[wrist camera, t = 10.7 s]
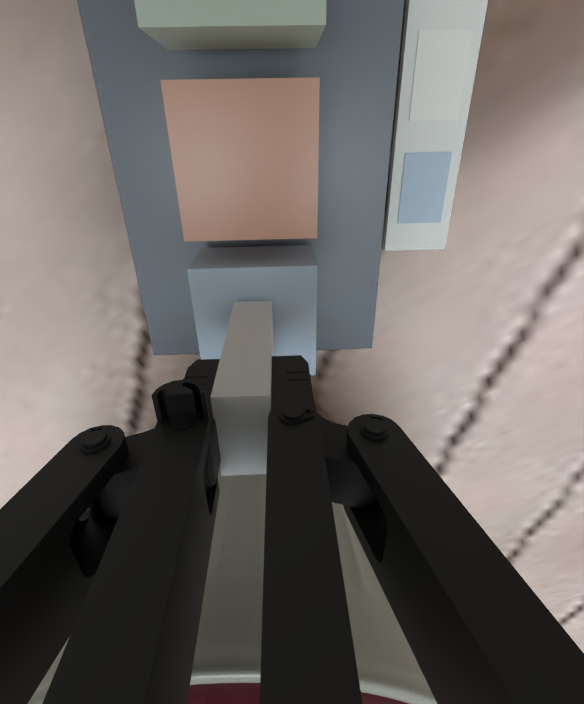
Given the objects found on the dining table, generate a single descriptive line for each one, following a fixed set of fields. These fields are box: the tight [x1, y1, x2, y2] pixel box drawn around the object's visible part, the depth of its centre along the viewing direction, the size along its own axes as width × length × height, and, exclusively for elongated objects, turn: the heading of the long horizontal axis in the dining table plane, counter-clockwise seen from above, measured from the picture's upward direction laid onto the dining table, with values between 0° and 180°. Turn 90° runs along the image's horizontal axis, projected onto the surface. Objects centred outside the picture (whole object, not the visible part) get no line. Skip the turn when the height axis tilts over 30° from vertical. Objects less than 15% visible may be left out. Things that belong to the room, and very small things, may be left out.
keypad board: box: [77, 0, 404, 355], centre depth 15 cm, size 25×12×4 cm, turn 1°
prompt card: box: [383, 0, 488, 251], centre depth 17 cm, size 15×3×1 cm, turn 1°
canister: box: [28, 467, 437, 704], centre depth 19 cm, size 18×18×21 cm
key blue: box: [187, 245, 317, 375], centre depth 18 cm, size 5×5×3 cm
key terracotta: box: [160, 77, 320, 241], centre depth 15 cm, size 5×5×3 cm
